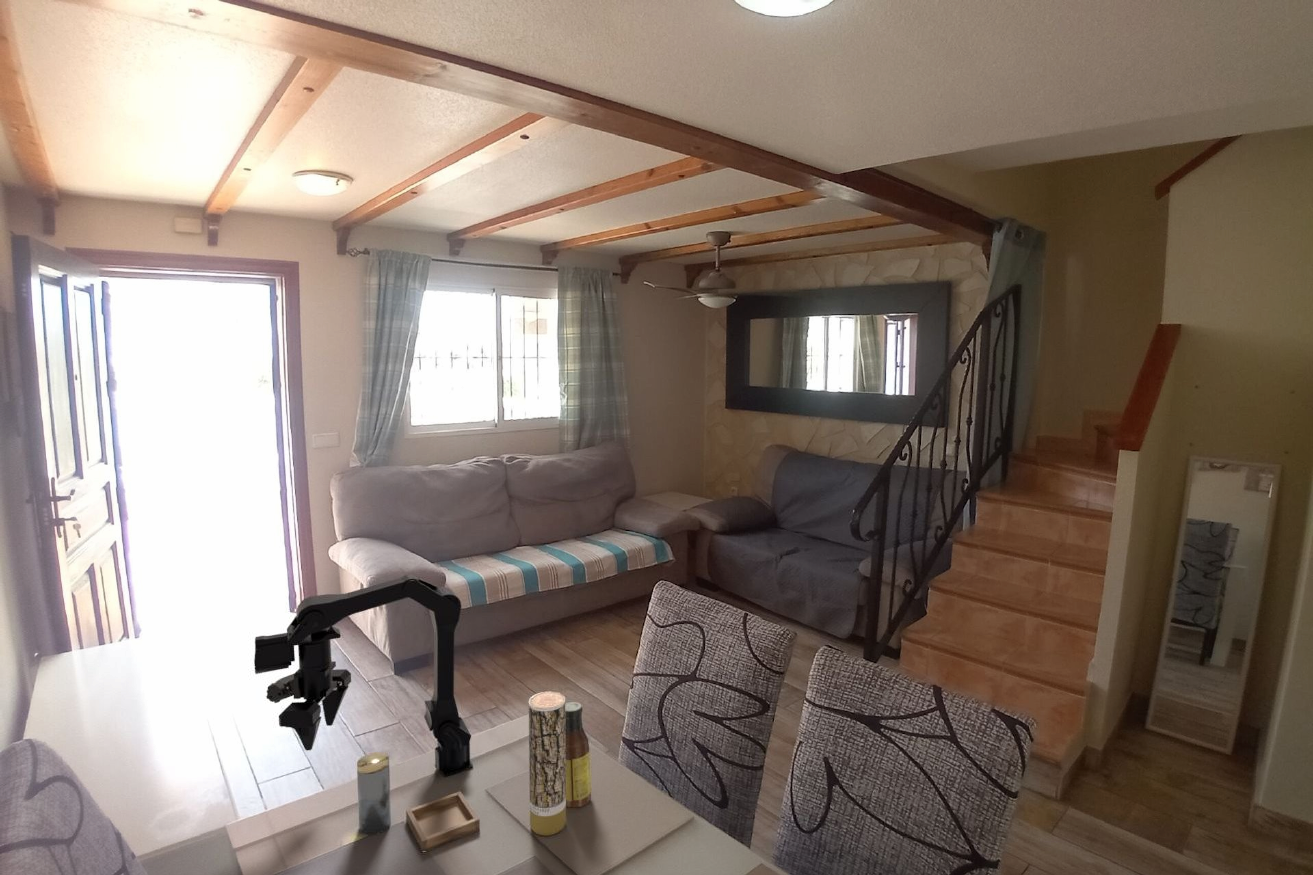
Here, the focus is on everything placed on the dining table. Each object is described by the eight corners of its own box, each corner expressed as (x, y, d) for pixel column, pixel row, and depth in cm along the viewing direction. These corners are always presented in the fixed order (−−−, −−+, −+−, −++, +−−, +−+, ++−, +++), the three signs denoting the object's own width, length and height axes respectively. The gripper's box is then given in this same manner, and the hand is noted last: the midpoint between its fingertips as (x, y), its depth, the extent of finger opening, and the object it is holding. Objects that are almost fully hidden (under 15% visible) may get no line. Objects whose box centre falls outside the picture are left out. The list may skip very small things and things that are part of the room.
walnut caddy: (460, 801, 136) (460, 791, 135) (479, 830, 127) (479, 819, 127) (406, 821, 129) (406, 810, 129) (422, 852, 121) (422, 841, 121)
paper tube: (558, 839, 124) (558, 710, 122) (524, 834, 126) (523, 706, 124) (570, 816, 131) (570, 693, 129) (537, 811, 132) (536, 689, 130)
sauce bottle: (593, 791, 139) (593, 699, 137) (587, 810, 133) (587, 714, 131) (562, 789, 140) (562, 697, 138) (555, 808, 134) (554, 712, 132)
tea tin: (386, 812, 132) (384, 749, 131) (394, 827, 128) (392, 762, 126) (356, 822, 129) (354, 758, 128) (362, 839, 124) (360, 772, 123)
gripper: (296, 644, 142) (300, 714, 143) (247, 684, 123) (252, 765, 125) (350, 642, 142) (353, 713, 144) (309, 682, 124) (313, 763, 125)
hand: (319, 737), depth 134 cm, fingers open, 9 cm apart
